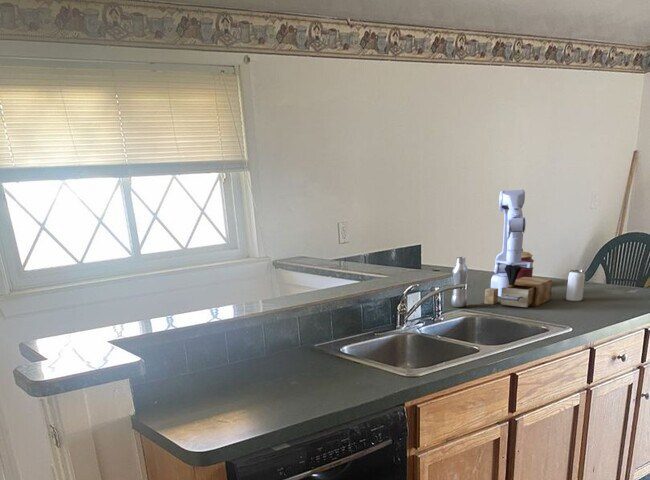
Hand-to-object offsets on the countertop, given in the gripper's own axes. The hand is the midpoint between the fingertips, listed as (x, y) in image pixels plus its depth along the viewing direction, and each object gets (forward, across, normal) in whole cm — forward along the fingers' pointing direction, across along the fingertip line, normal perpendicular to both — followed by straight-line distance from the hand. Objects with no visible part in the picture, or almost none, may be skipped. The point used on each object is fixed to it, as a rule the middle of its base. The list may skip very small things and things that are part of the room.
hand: (511, 284), depth 261 cm
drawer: (+9, +1, +6) cm, 11 cm away
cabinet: (+10, +1, +17) cm, 19 cm away
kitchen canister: (+10, -17, +45) cm, 49 cm away
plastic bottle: (+10, -19, -7) cm, 23 cm away
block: (+10, -11, +6) cm, 16 cm away
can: (+10, +16, +28) cm, 33 cm away
